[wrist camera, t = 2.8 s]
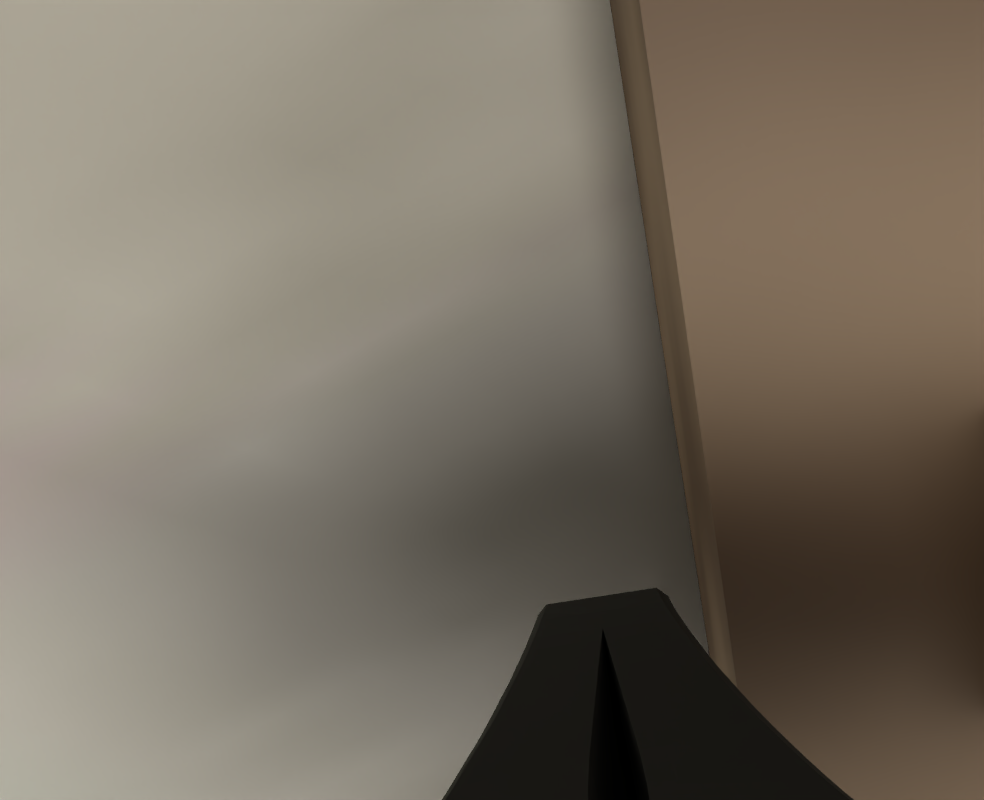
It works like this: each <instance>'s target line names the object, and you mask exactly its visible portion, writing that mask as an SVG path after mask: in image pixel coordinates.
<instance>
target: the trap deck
mask: <svg viewBox="0 0 984 800" xmlns="http://www.w3.org/2000/svg"><path fill="white" fill-rule="evenodd" d="M610 4H611V11H612V17H613V24H614V30H615V37H616V44H617V50H618V57H619V63H620V70H621V76H622V83H623V90H624V96H625V103H626V109H627V116H628V122H629V129H630V136H631V142H632V149H633V155H634V162H635V169H636V175H637V182H638V188H639V195H640V201H641V208H642V215H643V221H644V228H645V234H646V241H647V247H648V254H649V261H650V267H651V274H652V280H653V287H654V293H655V300H656V307H657V313H658V320H659V326H660V333H661V339H662V346H663V353H664V359H665V366H666V372H667V379H668V385H669V392H670V399H671V405H672V412H673V418H674V425H675V432H676V438H677V445H678V451H679V458H680V464H681V471H682V478H683V484H684V491H685V497H686V504H687V510H688V517H689V524H690V530H691V537H692V543H693V550H694V556H695V563H696V570H697V576H698V583H699V589H700V596H701V602H702V609H703V616H704V622H705V629H706V635H707V642H708V648H709V655H710V658H711V659H712V660H713V661H714V662H715V664H716V665H717V666H718V667H719V668H720V669H721V671H722V672H723V673H724V674H725V675H726V676H727V677H728V678H729V679H730V681H731V682H732V683H733V684H734V685H735V686H736V687H737V688H738V689H739V691H740V692H741V693H742V694H743V695H744V696H745V697H746V698H747V699H748V701H749V702H750V703H751V704H752V705H753V706H754V707H755V708H756V709H757V710H758V711H759V712H760V713H761V714H762V715H763V716H764V717H765V718H766V719H767V720H768V721H769V722H770V723H771V724H772V725H773V726H774V727H775V728H776V729H777V730H778V731H779V732H780V733H781V734H782V735H783V736H784V737H785V738H786V739H787V740H788V741H789V742H790V743H791V744H792V745H793V746H794V747H795V748H796V749H797V750H799V751H800V752H801V753H802V754H803V755H804V756H805V757H806V758H807V759H808V760H809V761H810V762H811V763H812V764H814V765H815V766H816V767H817V768H818V769H819V770H820V771H821V772H822V773H823V774H825V775H826V776H827V777H828V778H829V779H830V780H831V781H833V782H834V783H835V784H836V785H837V786H838V787H839V788H841V789H842V790H843V791H844V792H845V793H846V794H848V795H849V796H850V797H851V798H853V799H854V800H984V0H610Z"/></svg>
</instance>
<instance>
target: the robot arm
mask: <svg viewBox="0 0 984 800" xmlns="http://www.w3.org/2000/svg"><path fill="white" fill-rule="evenodd" d="M442 800H854V799H853V798H851V797H850V796H849V795H848V794H846V793H845V792H844V791H843V790H842V789H841V788H839V787H838V786H837V785H836V784H835V783H834V782H833V781H831V780H830V779H829V778H828V777H827V776H826V775H825V774H823V773H822V772H821V771H820V770H819V769H818V768H817V767H816V766H815V765H814V764H812V763H811V762H810V761H809V760H808V759H807V758H806V757H805V756H804V755H803V754H802V753H801V752H800V751H799V750H797V749H796V748H795V747H794V746H793V745H792V744H791V743H790V742H789V741H788V740H787V739H786V738H785V737H784V736H783V735H782V734H781V733H780V732H779V731H778V730H777V729H776V728H775V727H774V726H773V725H772V724H771V723H770V722H769V721H768V720H767V719H766V718H765V717H764V716H763V715H762V714H761V713H760V712H759V711H758V710H757V709H756V708H755V707H754V706H753V705H752V704H751V703H750V702H749V701H748V699H747V698H746V697H745V696H744V695H743V694H742V693H741V692H740V691H739V689H738V688H737V687H736V686H735V685H734V684H733V683H732V682H731V681H730V679H729V678H728V677H727V676H726V675H725V674H724V673H723V672H722V671H721V669H720V668H719V667H718V666H717V665H716V664H715V662H714V661H713V660H712V659H711V658H710V656H709V655H708V654H707V653H706V651H705V650H704V649H703V648H702V646H701V645H700V644H699V642H698V641H697V640H696V639H695V637H694V636H693V635H692V633H691V632H690V631H689V629H688V628H687V626H686V625H685V624H684V622H683V621H682V619H681V618H680V616H679V615H678V613H677V612H676V610H675V608H674V607H673V605H672V603H671V601H670V599H669V597H668V596H667V595H666V594H664V593H663V592H662V591H660V590H659V589H657V588H652V589H646V590H639V591H633V592H626V593H620V594H613V595H606V596H600V597H593V598H587V599H580V600H574V601H567V602H561V603H554V604H548V605H546V606H545V607H544V608H543V610H542V611H541V612H540V614H539V615H538V617H537V620H536V623H535V626H534V628H533V631H532V633H531V636H530V638H529V640H528V643H527V645H526V648H525V650H524V652H523V654H522V657H521V659H520V661H519V663H518V665H517V667H516V669H515V672H514V674H513V676H512V678H511V680H510V682H509V684H508V686H507V688H506V690H505V692H504V694H503V696H502V697H501V699H500V701H499V703H498V705H497V707H496V709H495V711H494V713H493V715H492V717H491V718H490V720H489V722H488V724H487V726H486V728H485V730H484V732H483V733H482V735H481V737H480V739H479V740H478V742H477V744H476V745H475V747H474V749H473V750H472V752H471V753H470V755H469V757H468V758H467V760H466V762H465V763H464V765H463V767H462V768H461V770H460V771H459V773H458V775H457V776H456V778H455V780H454V781H453V783H452V785H451V786H450V788H449V789H448V791H447V793H446V794H445V796H444V797H443V799H442Z"/></svg>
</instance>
